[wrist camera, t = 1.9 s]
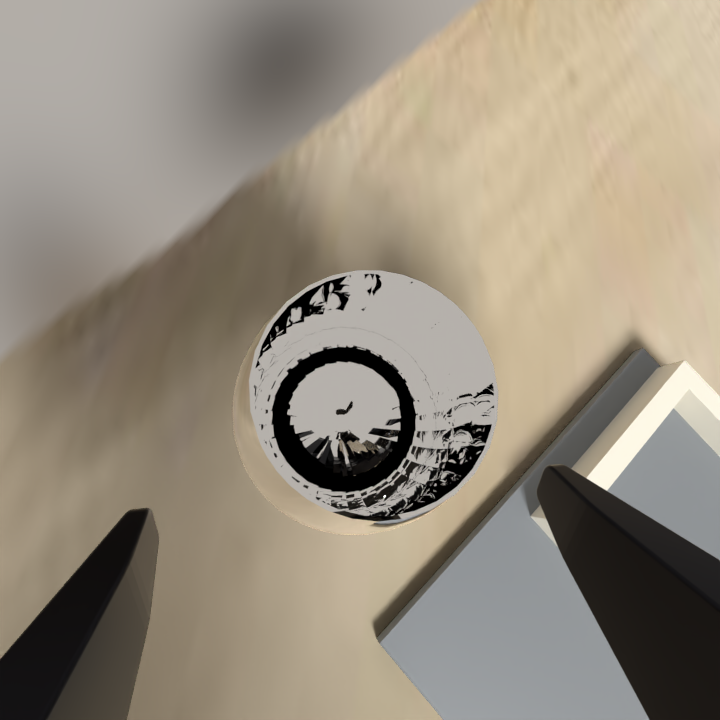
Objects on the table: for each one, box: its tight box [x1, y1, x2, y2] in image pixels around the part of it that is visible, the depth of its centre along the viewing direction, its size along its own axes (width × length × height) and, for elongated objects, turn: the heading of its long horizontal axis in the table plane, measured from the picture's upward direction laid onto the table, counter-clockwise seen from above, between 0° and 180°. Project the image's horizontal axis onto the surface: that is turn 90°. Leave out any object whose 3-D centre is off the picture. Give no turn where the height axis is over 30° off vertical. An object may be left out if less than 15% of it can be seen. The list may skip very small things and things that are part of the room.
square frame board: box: [377, 348, 720, 720], centre depth 19 cm, size 15×19×2 cm
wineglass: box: [232, 270, 498, 535], centre depth 14 cm, size 6×6×12 cm
